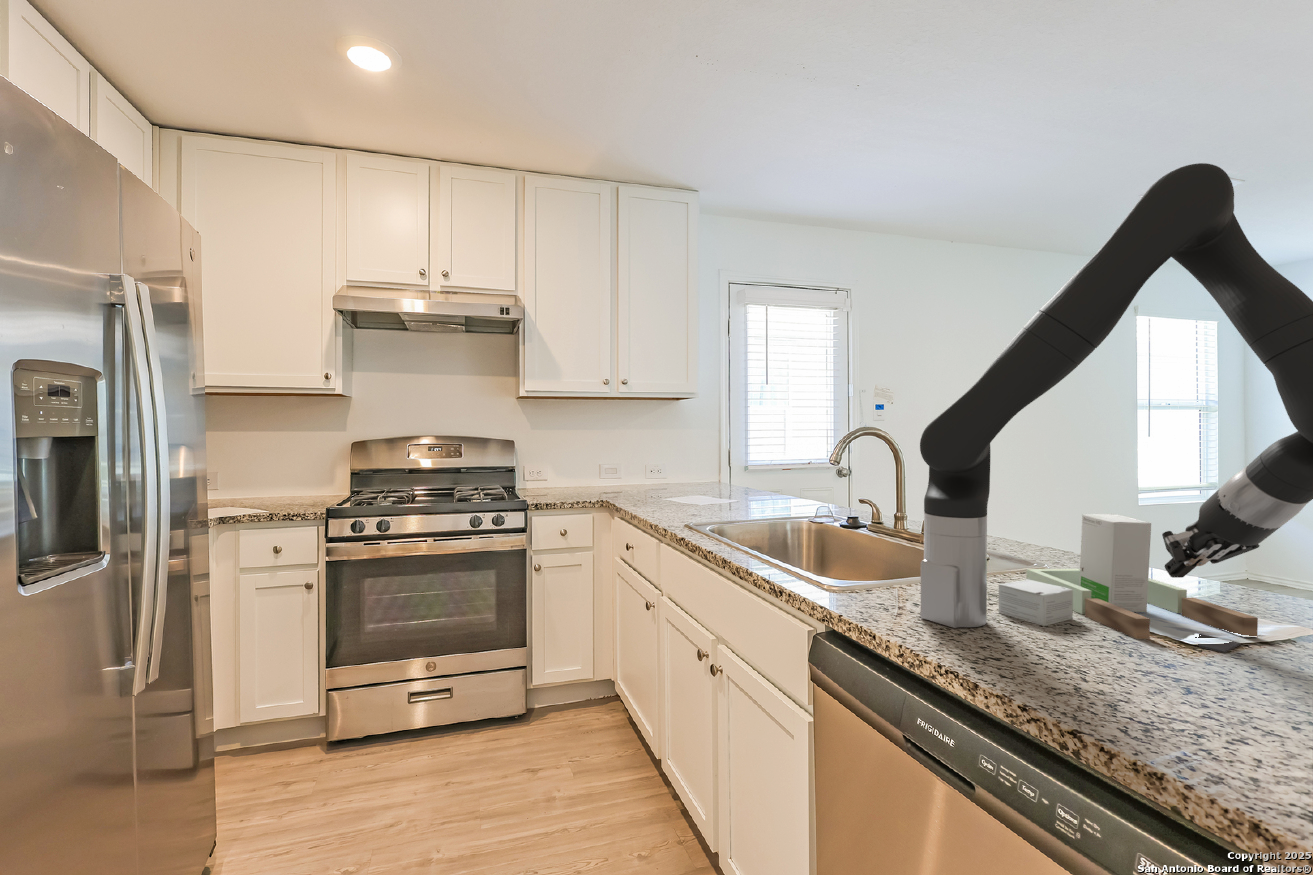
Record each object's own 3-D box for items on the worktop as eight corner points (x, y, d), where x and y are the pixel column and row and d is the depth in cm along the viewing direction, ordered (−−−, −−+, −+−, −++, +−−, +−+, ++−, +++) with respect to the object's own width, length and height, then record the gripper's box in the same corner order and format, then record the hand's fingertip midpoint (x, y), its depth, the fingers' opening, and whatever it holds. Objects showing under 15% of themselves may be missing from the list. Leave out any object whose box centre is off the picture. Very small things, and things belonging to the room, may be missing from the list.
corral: (1186, 613, 101) (1186, 589, 101) (1082, 614, 101) (1082, 590, 100) (1117, 589, 116) (1117, 568, 116) (1026, 589, 116) (1026, 569, 115)
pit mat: (1224, 653, 83) (1224, 650, 83) (1179, 641, 88) (1179, 639, 88) (1240, 644, 86) (1240, 642, 86) (1196, 634, 91) (1196, 632, 91)
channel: (1257, 637, 89) (1257, 617, 89) (1136, 639, 89) (1136, 618, 89) (1193, 615, 100) (1193, 597, 100) (1085, 616, 99) (1085, 598, 99)
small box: (1026, 607, 105) (1026, 578, 105) (1074, 620, 98) (1074, 588, 98) (997, 613, 102) (997, 583, 102) (1043, 627, 95) (1044, 595, 95)
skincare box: (1077, 599, 109) (1078, 513, 109) (1114, 599, 109) (1115, 513, 109) (1111, 613, 101) (1112, 520, 101) (1151, 613, 101) (1152, 520, 101)
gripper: (1282, 482, 83) (1199, 551, 96) (1186, 482, 83) (1116, 551, 96) (1323, 527, 78) (1230, 594, 91) (1222, 527, 78) (1143, 594, 90)
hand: (1172, 572), depth 93 cm, fingers closed
